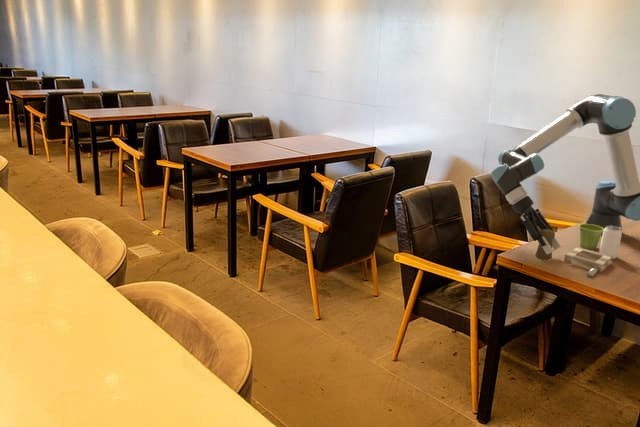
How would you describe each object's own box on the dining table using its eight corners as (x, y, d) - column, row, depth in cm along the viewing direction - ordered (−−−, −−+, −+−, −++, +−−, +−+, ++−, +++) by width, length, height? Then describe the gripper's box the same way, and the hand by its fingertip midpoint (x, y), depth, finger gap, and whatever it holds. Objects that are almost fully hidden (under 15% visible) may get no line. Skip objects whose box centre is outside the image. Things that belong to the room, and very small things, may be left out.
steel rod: (595, 268, 199) (596, 263, 198) (600, 270, 197) (601, 265, 197) (585, 276, 192) (586, 270, 191) (591, 277, 190) (592, 272, 190)
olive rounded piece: (531, 254, 210) (536, 228, 206) (543, 253, 212) (548, 226, 209) (543, 260, 204) (548, 233, 201) (555, 258, 207) (560, 231, 204)
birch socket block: (575, 254, 213) (577, 246, 212) (611, 263, 204) (612, 256, 203) (563, 262, 204) (565, 254, 203) (600, 272, 195) (601, 265, 194)
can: (618, 260, 208) (625, 231, 205) (600, 258, 209) (607, 229, 206) (613, 254, 214) (619, 225, 211) (596, 252, 216) (602, 224, 212)
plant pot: (585, 251, 216) (589, 231, 213) (570, 243, 225) (574, 223, 222) (605, 251, 218) (609, 230, 215) (589, 242, 227) (593, 223, 224)
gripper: (522, 201, 220) (555, 249, 214) (501, 209, 206) (535, 261, 200) (537, 191, 215) (572, 240, 209) (516, 199, 201) (552, 252, 195)
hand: (554, 250), depth 205 cm, fingers open, 7 cm apart
